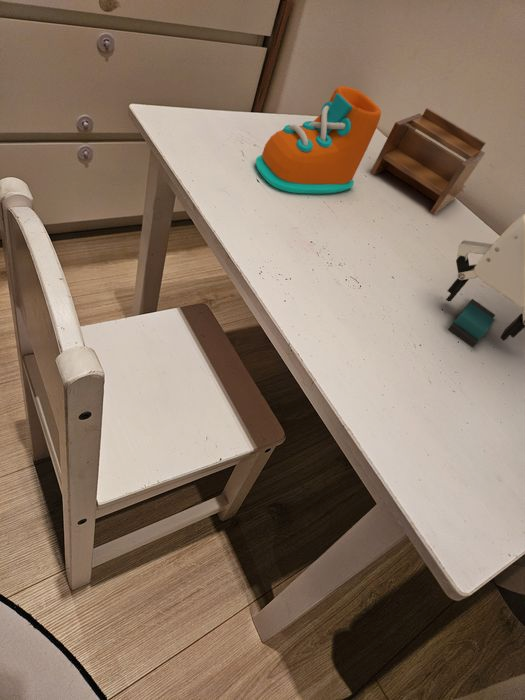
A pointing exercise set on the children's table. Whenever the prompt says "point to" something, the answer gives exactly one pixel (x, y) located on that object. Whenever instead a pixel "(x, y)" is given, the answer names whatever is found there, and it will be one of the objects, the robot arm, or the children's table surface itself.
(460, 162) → the shoe rack
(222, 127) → the children's table surface
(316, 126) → the toy shoe
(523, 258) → the robot arm
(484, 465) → the children's table surface
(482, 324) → the teal two-tone block
